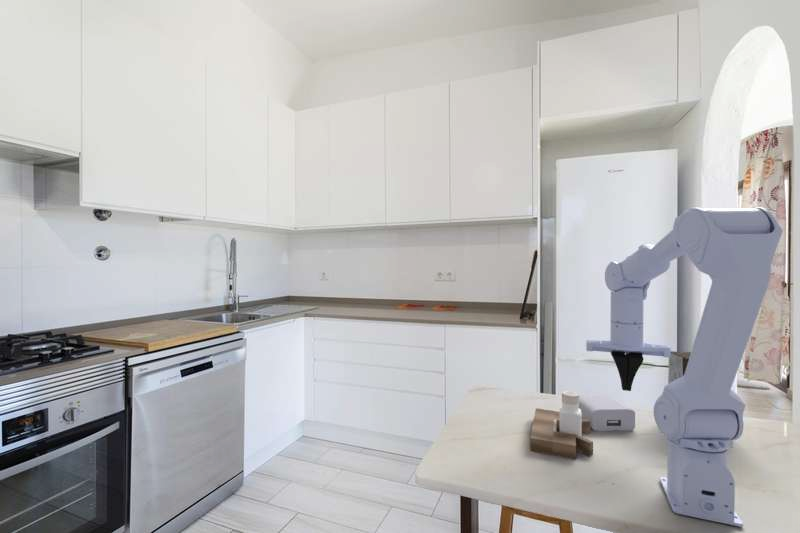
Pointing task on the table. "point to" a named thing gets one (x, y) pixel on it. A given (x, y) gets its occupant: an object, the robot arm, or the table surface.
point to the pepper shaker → (570, 414)
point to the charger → (606, 413)
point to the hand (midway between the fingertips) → (626, 389)
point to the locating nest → (557, 436)
